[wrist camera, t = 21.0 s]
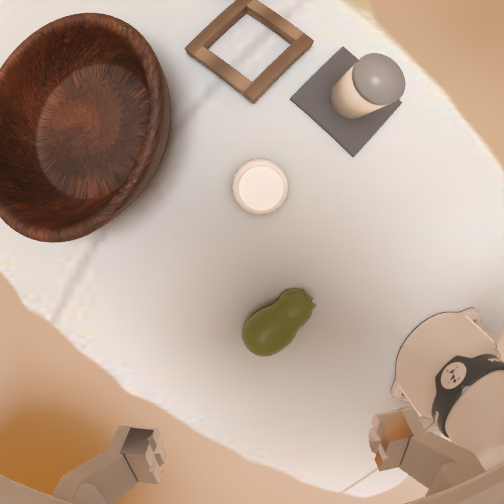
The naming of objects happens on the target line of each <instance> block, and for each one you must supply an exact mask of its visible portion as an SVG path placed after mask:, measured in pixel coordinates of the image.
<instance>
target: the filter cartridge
mask: <svg viewBox="0 0 504 504" xmlns="http://www.w3.org/2000/svg"><path fill="white" fill-rule="evenodd" d="M404 90H405V78H404V75H403V72H402V70H401V69H400V67H399V66H398V65H397V64H396V62H394V61H393V60H392V59H391V58H389V57H387V56H385V55H382V54H378V53H371V54H367V55H365V56H363V57H362V58H361V59H360V60H359V61H358V62H357V63H356V64H354V65H353V66H352V67H351V68H350V69H349V70H348V71H347V72H346V73H345V74H344V75H343V76H342V77H341V78H340V79H339V80H338V81H337V82H336V83H335V84H334V85H333V87H332V88H331V91H330V103H331V105H332V107H333V109H334V110H335V111H336V112H337V113H338V114H339V115H341V116H342V117H344V118H348V119H357V118H360V117H362V116H364V115H366V114H368V113H371V112H373V111H375V110H377V109H380V108H382V107H384V106H386V105H389V104H391V103H393V102H395V101H397V100H398V99H399V98H400V97H401V96H402V95H403V93H404Z"/></svg>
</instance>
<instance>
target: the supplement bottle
mask: <svg viewBox="0 0 504 504" xmlns="http://www.w3.org/2000/svg"><path fill="white" fill-rule="evenodd" d="M232 191H233V195H234V198H235V200H236V201H237V203H238V204H239V205H240V206H241V207H242V208H243V209H244V210H246V211H248V212H250V213H253V214H267V213H271V212H273V211H275V210H276V209H278V208H279V207H280V206H281V205H282V204H283V202H284V201H285V199H286V197H287V194H288V180H287V177H286V175H285V173H284V171H283V170H282V168H281V167H280V166H279V165H277V164H276V163H274V162H272V161H270V160H267V159H253V160H250V161H248V162H246V163H244V164H243V165H242V166H241V167H240V168H239V169H238V170H237V172H236V173H235V175H234V178H233V182H232Z"/></svg>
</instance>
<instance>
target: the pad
mask: <svg viewBox="0 0 504 504" xmlns="http://www.w3.org/2000/svg"><path fill="white" fill-rule="evenodd" d="M358 61H359V60H358V59H357V58H356V57H355V56H354V55H352V54H351V53H350V52H349V51H348V50H347V49H345V48H344V47H342V48H341V49H340V50H339V51H338V52H337V53H336V54H335V55H333V56H332V57H331V58H330V59H329V60H328V61H327V62H326V63H325V64H324V65H323V66H322V67H321V68H320V69H319V70H318V71H317V72H316V73H315V74H314V75H313V76H312V77H311V78H310V79H309V80H308V81H307V82H306V83H305V84H304V85H303V86H302V87H301V88H300V89H299V90H298V91H297V92H296V93H295V94H294V95H293V96H292V97H291V98H290V100H291V101H292V102H294V103H295V104H296V105H297V106H298V107H299V108H301V109H302V110H303V111H304V112H305V113H306V114H307V115H309V116H310V117H311V118H312V119H313V120H314V121H315V122H316V123H318V124H319V125H320V126H321V127H322V128H323V129H324V130H325V131H326V132H327V133H328V134H329V135H331V136H332V137H333V138H334V139H335V140H336V141H337V142H338V143H339V144H340V145H341V146H342V147H343V148H344V149H345V150H346V151H347V152H348V153H349V154H350V155H351V156H352V157H354V156H355V155H356V154H357V153H358V152H359V151H360V150H361V148H362V147H363V146H364V145H365V144H366V143H367V142H368V141H369V139H370V138H371V137H372V136H373V135H374V134H375V133H376V132H377V130H378V129H379V128H380V127H381V126H382V125H383V124H384V123H385V121H386V120H387V119H388V118H389V117H390V116H391V115H392V114H393V112H394V111H395V110H396V109H397V108H398V107H399V106H400V104H401V103H402V102H401V101H400V100H399V99H398V100H397V101H395V102H393V103H391V104H389V105H386V106H384V107H382V108H380V109H377V110H375V111H373V112H371V113H368V114H366V115H364V116H362V117H360V118H357V119H348V118H344V117H342V116H341V115H339V114H338V113H337V112H336V111H335V110H334V109H333V107H332V105H331V103H330V91H331V88H332V87H333V85H334V84H335V83H336V82H337V81H338V80H339V79H340V78H341V77H342V76H343V75H344V74H345V73H346V72H347V71H348V70H349V69H350V68H351V67H352V66H353V65H354V64H356V63H357V62H358Z"/></svg>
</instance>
